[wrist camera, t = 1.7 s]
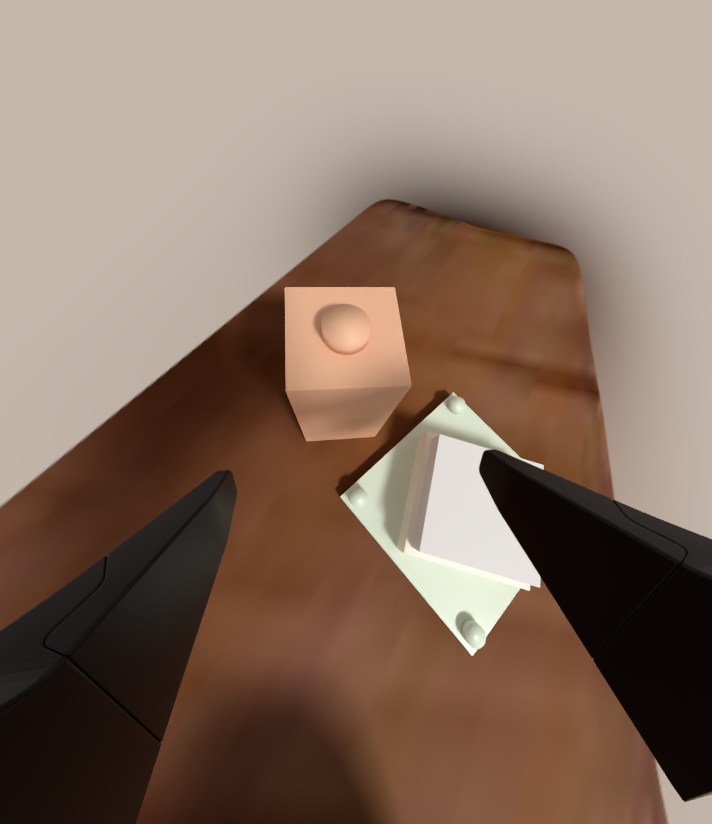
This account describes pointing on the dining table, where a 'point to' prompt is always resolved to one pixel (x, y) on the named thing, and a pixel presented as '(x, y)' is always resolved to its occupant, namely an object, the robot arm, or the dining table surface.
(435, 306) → the dining table surface
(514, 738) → the dining table surface
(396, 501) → the baseplate
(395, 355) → the tall brick
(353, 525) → the dining table surface
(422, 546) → the brick stack
